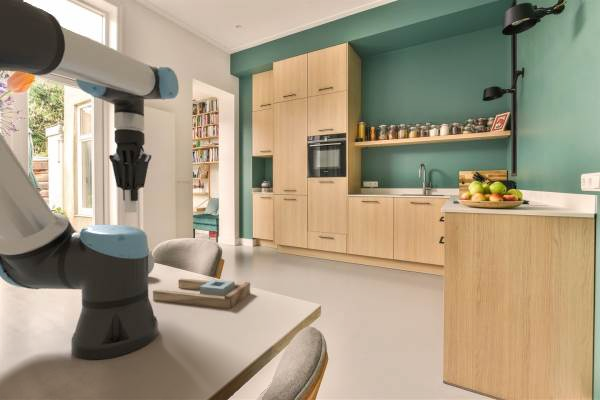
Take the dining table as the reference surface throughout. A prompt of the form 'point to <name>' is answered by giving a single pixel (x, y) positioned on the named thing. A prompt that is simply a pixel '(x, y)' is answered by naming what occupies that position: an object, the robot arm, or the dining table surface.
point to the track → (202, 295)
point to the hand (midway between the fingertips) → (130, 212)
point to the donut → (150, 262)
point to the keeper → (217, 288)
